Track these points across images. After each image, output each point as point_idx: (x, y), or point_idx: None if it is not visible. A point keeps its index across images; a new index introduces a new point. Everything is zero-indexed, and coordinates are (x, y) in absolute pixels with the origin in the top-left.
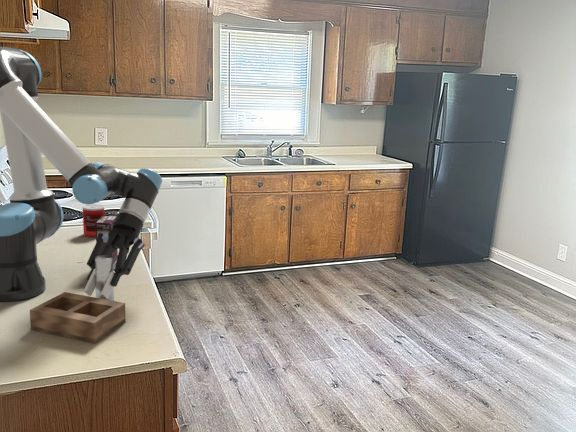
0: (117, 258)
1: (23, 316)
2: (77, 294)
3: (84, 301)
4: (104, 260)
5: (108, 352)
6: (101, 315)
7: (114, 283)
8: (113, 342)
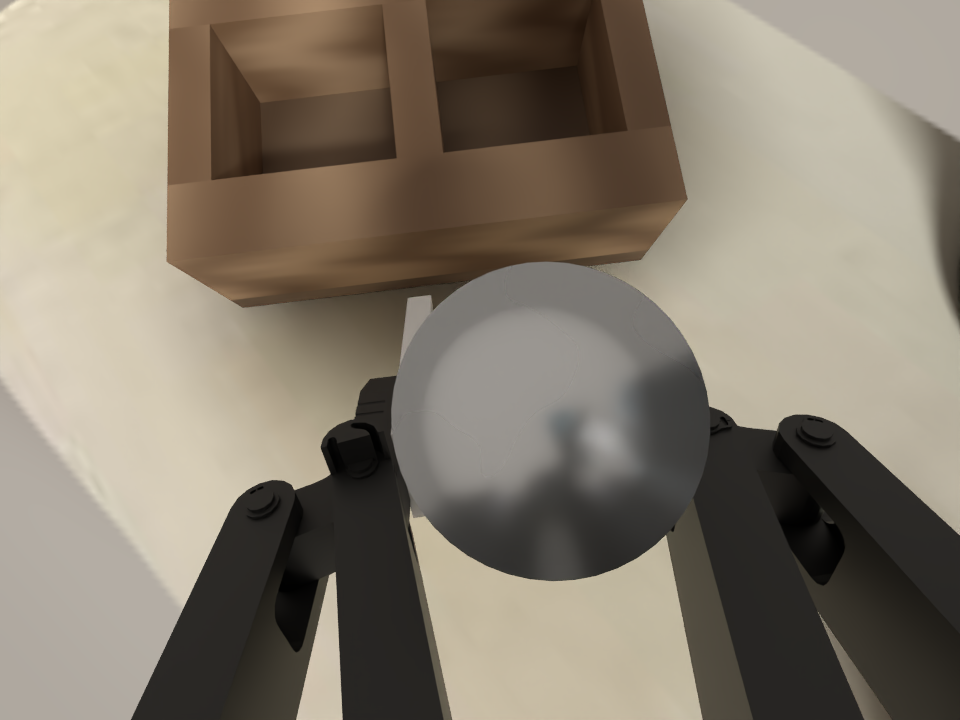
0: (419, 622)
1: (757, 105)
2: (572, 209)
3: (437, 147)
4: (438, 306)
5: (134, 44)
6: (193, 49)
7: (364, 393)
8: (167, 116)
